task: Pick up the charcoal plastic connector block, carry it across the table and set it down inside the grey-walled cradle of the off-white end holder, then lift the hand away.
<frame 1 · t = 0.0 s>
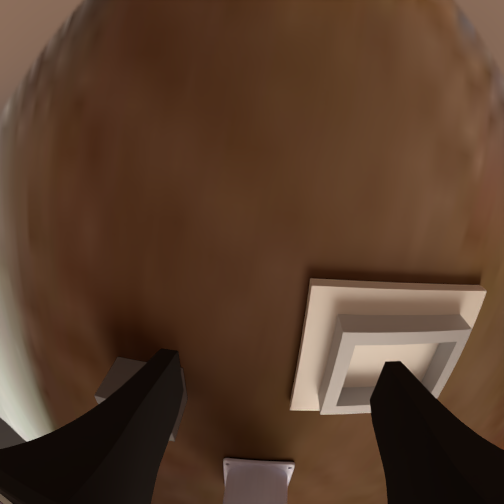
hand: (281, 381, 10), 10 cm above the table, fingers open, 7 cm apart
end holder: (386, 350, 21), on the table
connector: (152, 378, 24), on the table
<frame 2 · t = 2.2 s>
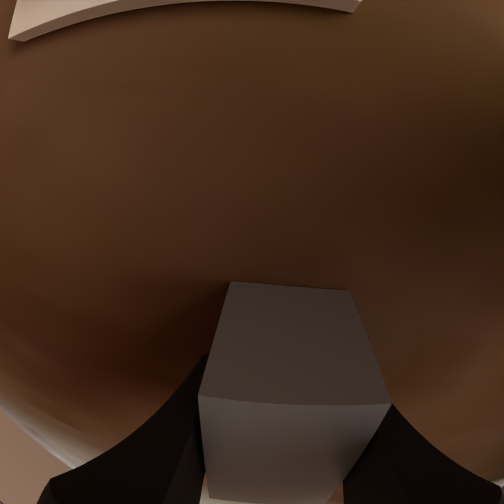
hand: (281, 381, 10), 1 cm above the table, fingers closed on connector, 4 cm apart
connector: (281, 354, 11), on the table, touching gripper
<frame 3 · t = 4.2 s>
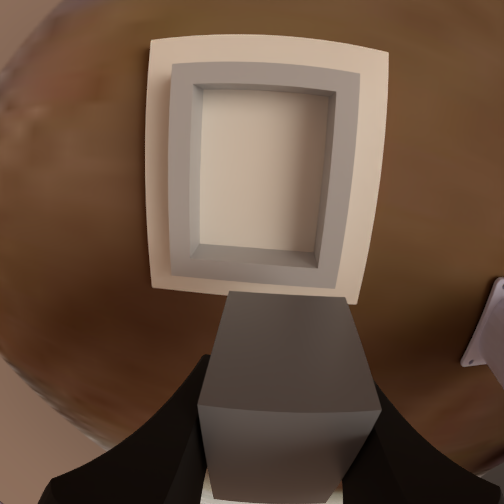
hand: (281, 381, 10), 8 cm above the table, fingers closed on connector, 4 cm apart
end holder: (261, 168, 16), on the table
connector: (280, 360, 12), point 7 cm above the table, touching gripper
when the fingers open (4 cm above the table, at t = 6.3 s): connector drops 1 cm, resting on end holder.
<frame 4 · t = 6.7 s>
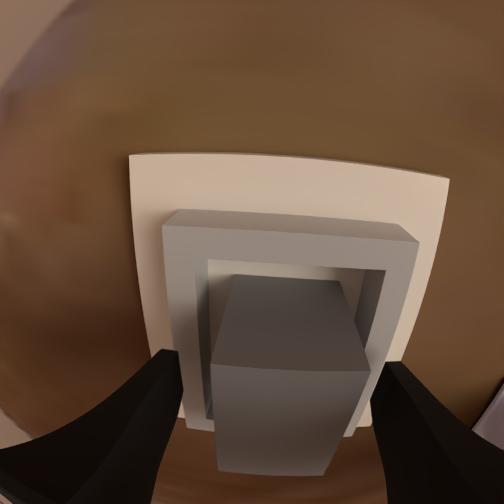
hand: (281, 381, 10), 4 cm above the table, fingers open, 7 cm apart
end holder: (280, 318, 14), on the table
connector: (280, 340, 13), point 1 cm above the table, touching end holder
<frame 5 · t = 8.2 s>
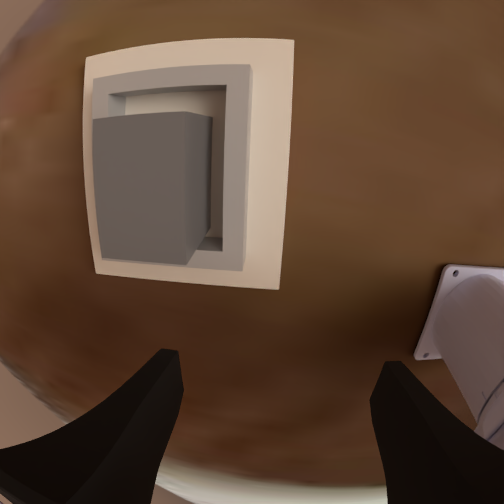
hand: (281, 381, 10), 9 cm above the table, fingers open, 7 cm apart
end holder: (180, 162, 17), on the table
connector: (175, 172, 16), point 1 cm above the table, touching end holder
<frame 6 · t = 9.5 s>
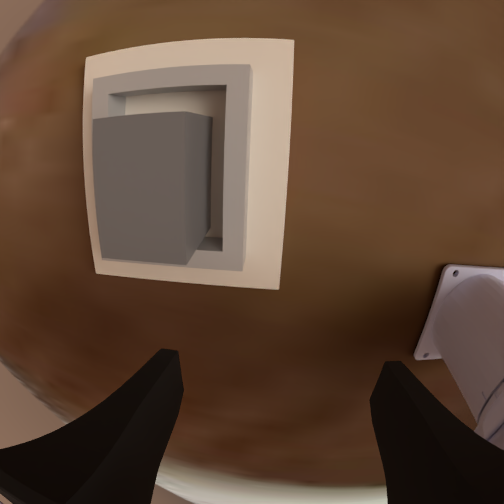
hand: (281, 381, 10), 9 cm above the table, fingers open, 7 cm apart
end holder: (180, 162, 17), on the table
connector: (175, 172, 16), point 1 cm above the table, touching end holder
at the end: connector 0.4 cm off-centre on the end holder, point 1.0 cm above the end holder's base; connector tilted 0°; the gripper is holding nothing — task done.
